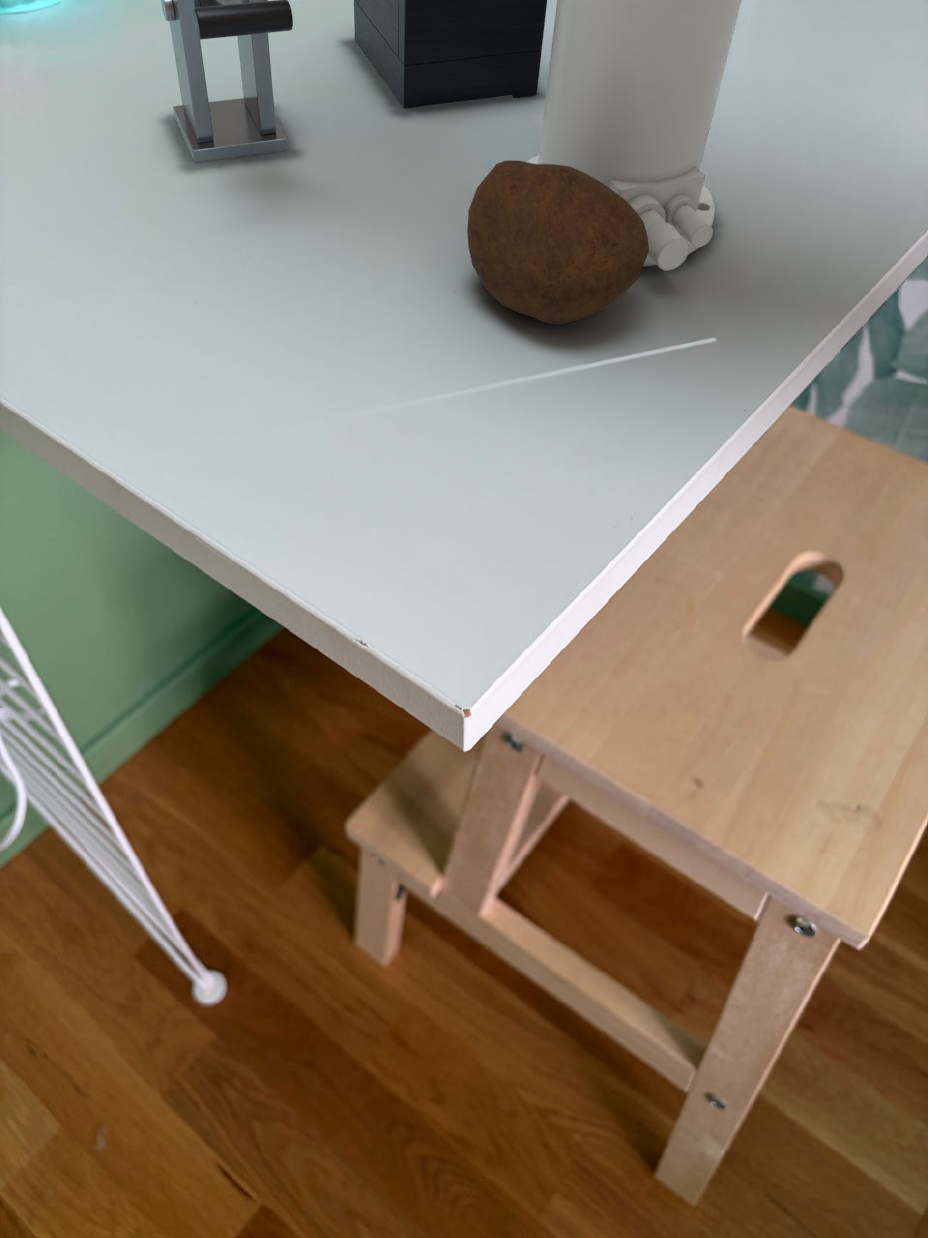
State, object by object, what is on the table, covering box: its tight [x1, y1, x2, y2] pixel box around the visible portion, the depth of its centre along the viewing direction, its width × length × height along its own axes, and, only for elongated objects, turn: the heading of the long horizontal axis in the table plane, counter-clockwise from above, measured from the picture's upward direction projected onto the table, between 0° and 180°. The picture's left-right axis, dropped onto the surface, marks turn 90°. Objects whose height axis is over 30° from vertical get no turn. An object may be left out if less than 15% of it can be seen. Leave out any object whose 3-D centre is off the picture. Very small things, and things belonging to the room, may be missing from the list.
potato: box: [466, 160, 649, 325], centre depth 54 cm, size 7×10×8 cm
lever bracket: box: [160, 0, 289, 164], centre depth 63 cm, size 6×6×10 cm
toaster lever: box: [193, 0, 294, 40], centre depth 58 cm, size 10×5×2 cm, turn 21°
